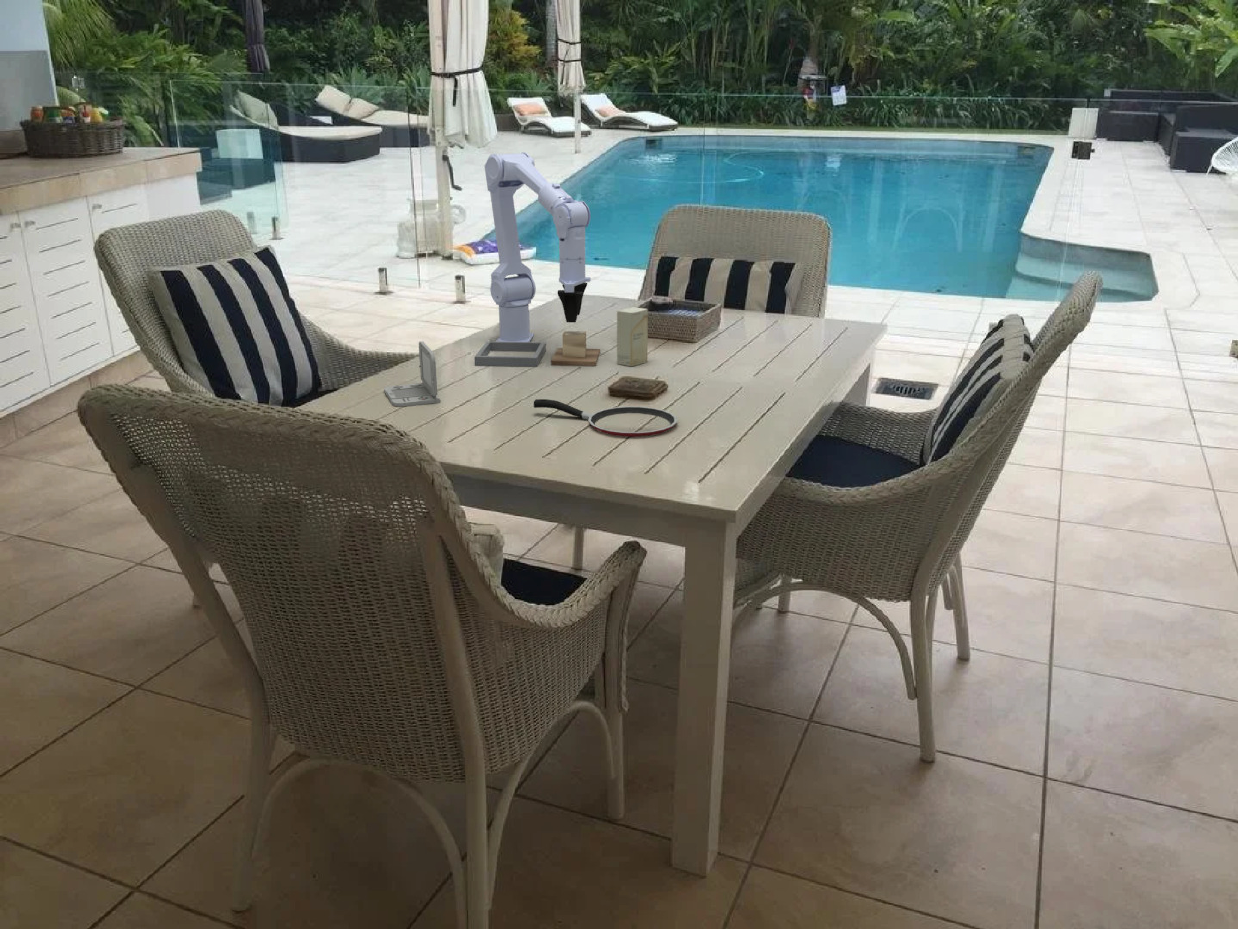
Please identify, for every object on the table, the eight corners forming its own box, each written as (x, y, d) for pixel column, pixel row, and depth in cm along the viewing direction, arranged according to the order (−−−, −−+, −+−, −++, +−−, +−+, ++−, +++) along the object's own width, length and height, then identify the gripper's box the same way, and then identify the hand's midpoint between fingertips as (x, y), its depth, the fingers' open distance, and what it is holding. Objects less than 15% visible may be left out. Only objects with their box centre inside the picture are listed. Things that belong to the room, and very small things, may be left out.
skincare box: (631, 367, 235) (632, 313, 231) (615, 364, 237) (615, 310, 233) (648, 361, 240) (648, 308, 235) (632, 358, 242) (632, 306, 238)
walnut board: (557, 352, 248) (557, 348, 247) (600, 353, 247) (600, 348, 247) (551, 365, 236) (551, 360, 236) (595, 366, 236) (595, 361, 235)
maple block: (564, 352, 243) (564, 330, 242) (586, 352, 243) (586, 331, 241) (562, 356, 239) (562, 334, 238) (584, 357, 239) (584, 335, 237)
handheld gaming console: (383, 390, 217) (379, 343, 214) (427, 386, 220) (424, 339, 217) (394, 408, 206) (390, 358, 202) (440, 403, 209) (437, 354, 205)
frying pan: (516, 428, 194) (516, 411, 193) (550, 404, 209) (549, 387, 208) (662, 443, 186) (662, 425, 185) (686, 417, 201) (687, 400, 200)
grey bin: (487, 349, 250) (486, 341, 249) (545, 350, 249) (545, 342, 248) (474, 365, 236) (474, 356, 235) (536, 366, 235) (536, 357, 234)
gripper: (587, 263, 227) (587, 325, 232) (593, 253, 241) (593, 312, 245) (554, 263, 227) (555, 325, 232) (562, 252, 241) (563, 311, 246)
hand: (573, 318), depth 239 cm, fingers open, 7 cm apart
